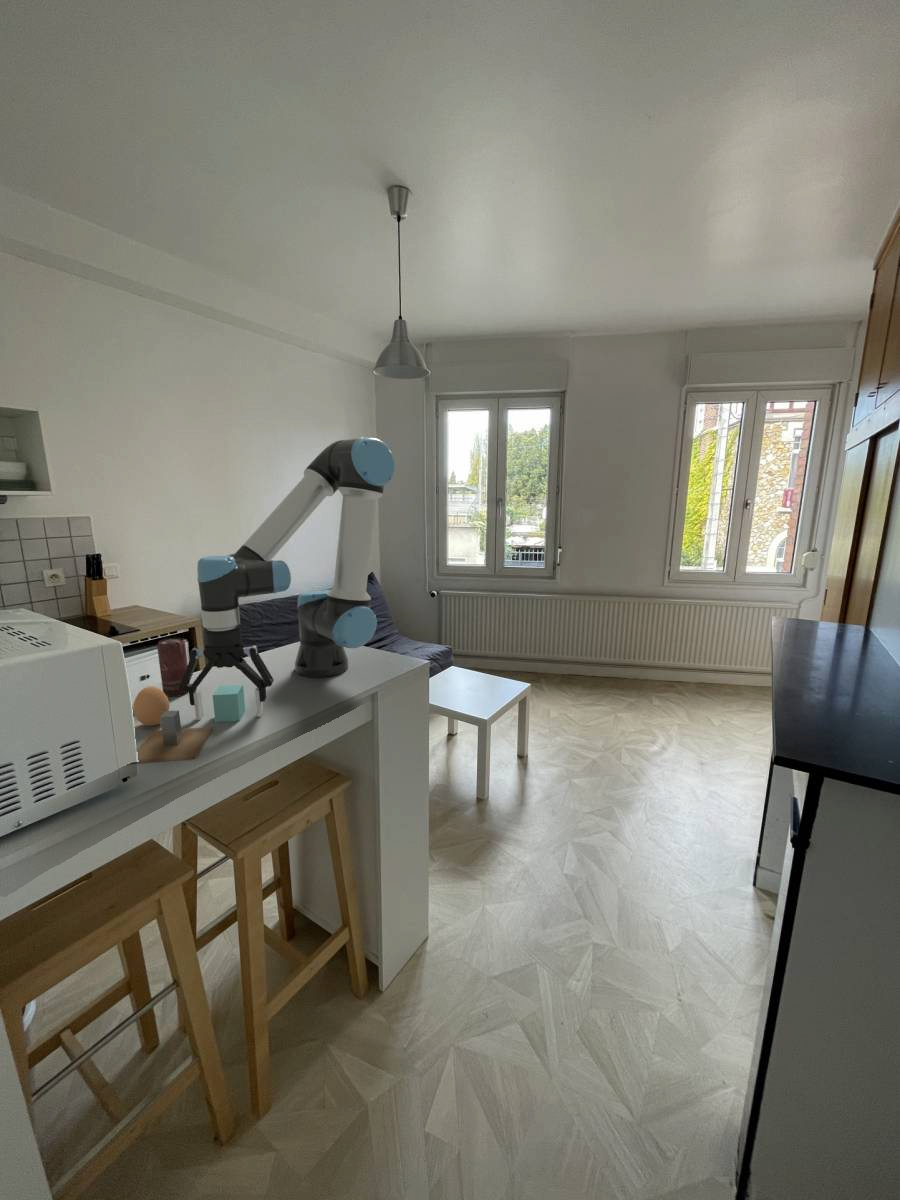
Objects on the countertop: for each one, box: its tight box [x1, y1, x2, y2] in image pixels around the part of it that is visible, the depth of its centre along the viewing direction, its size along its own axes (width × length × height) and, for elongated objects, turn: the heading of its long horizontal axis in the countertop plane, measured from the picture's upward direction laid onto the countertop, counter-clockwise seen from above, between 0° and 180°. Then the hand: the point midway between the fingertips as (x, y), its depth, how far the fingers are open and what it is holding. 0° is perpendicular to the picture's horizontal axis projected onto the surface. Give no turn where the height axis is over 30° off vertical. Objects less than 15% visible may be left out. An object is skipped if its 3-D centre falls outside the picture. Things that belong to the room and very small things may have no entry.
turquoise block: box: [212, 684, 246, 723], centre depth 113 cm, size 5×5×7 cm
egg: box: [133, 685, 170, 727], centre depth 108 cm, size 7×7×9 cm
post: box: [160, 710, 182, 746], centre depth 100 cm, size 3×3×6 cm
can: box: [156, 637, 191, 698], centre depth 124 cm, size 6×6×14 cm
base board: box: [136, 726, 215, 764], centre depth 100 cm, size 12×12×1 cm
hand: (230, 715), depth 113 cm, fingers open, 12 cm apart
